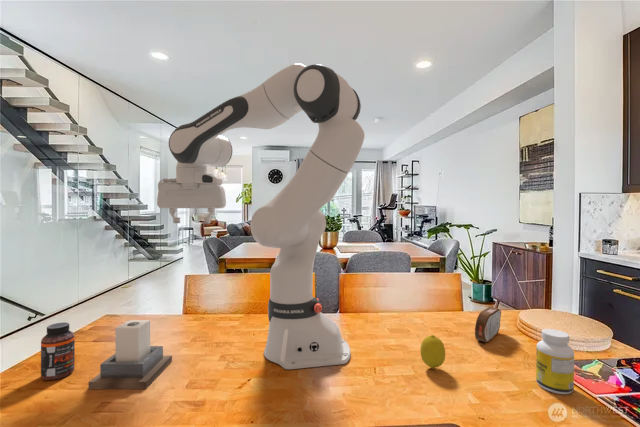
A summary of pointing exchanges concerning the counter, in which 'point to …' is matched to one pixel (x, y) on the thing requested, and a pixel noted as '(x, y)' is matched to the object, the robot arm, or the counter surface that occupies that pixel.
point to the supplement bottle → (57, 352)
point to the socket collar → (131, 365)
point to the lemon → (432, 351)
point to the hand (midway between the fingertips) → (192, 223)
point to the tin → (487, 324)
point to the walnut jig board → (130, 379)
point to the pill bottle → (555, 362)
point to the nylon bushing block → (132, 341)
